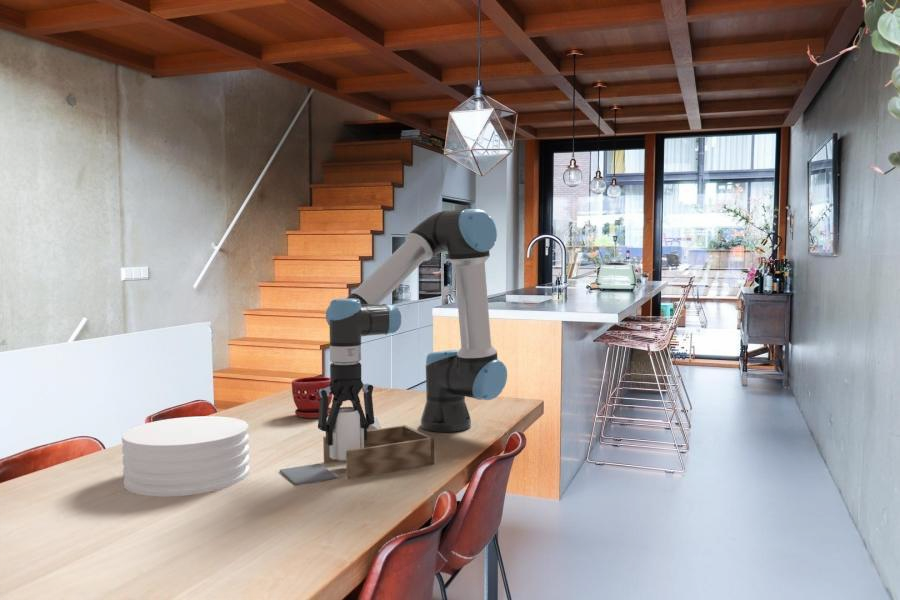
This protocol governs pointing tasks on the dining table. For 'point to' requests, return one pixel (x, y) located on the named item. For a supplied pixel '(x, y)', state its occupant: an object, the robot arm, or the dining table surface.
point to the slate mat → (307, 474)
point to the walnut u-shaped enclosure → (387, 452)
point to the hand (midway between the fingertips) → (346, 455)
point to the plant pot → (309, 395)
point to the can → (347, 431)
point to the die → (374, 425)
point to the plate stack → (185, 455)
